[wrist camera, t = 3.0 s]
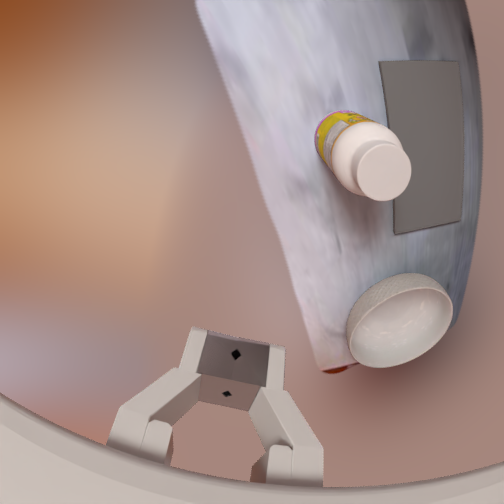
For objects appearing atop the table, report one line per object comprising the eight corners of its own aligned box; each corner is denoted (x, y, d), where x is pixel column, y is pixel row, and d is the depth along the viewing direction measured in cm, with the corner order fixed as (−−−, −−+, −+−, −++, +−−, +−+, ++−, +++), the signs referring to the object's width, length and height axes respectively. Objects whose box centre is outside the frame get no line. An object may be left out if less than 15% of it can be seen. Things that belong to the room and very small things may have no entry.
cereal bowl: (323, 286, 44) (333, 322, 38) (426, 238, 39) (450, 267, 33) (355, 350, 52) (364, 382, 46) (438, 311, 47) (454, 340, 42)
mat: (378, 61, 27) (380, 61, 27) (455, 61, 26) (458, 61, 25) (393, 232, 39) (395, 234, 38) (458, 218, 38) (460, 220, 37)
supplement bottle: (379, 133, 32) (437, 168, 21) (346, 175, 35) (387, 228, 24) (335, 96, 30) (381, 113, 19) (300, 143, 33) (326, 182, 22)
